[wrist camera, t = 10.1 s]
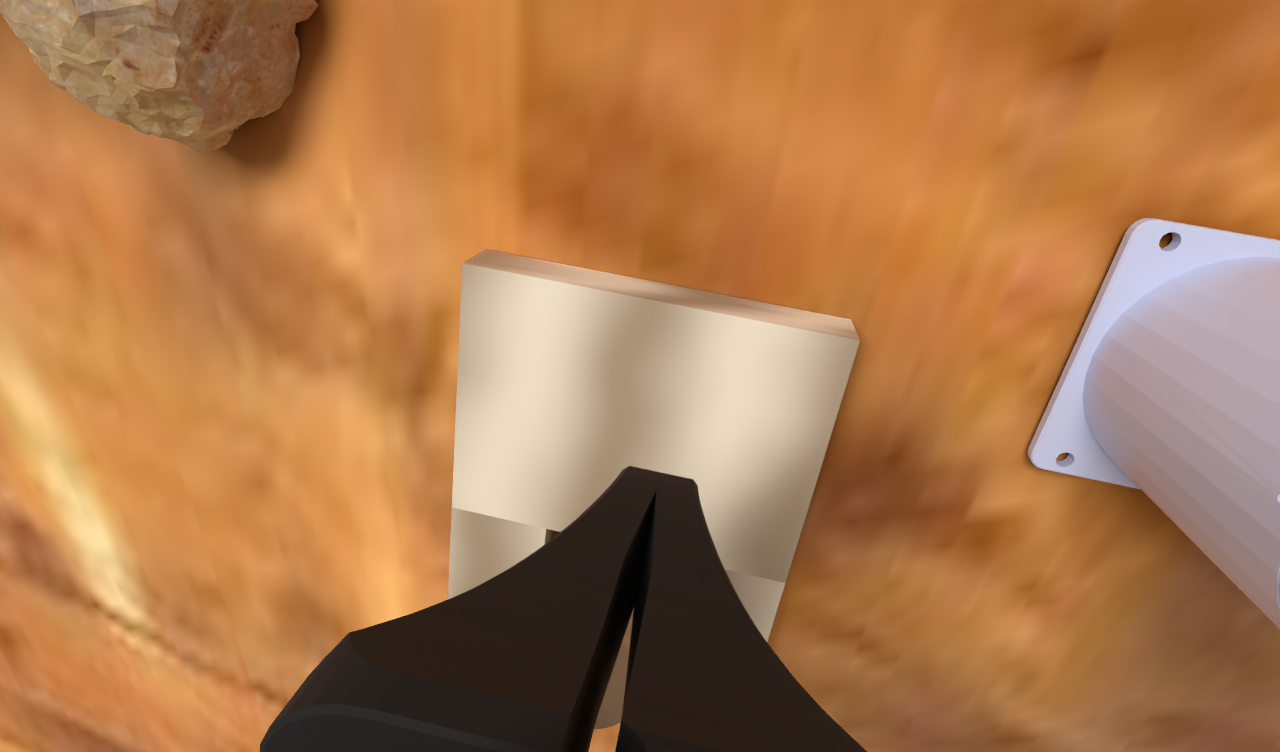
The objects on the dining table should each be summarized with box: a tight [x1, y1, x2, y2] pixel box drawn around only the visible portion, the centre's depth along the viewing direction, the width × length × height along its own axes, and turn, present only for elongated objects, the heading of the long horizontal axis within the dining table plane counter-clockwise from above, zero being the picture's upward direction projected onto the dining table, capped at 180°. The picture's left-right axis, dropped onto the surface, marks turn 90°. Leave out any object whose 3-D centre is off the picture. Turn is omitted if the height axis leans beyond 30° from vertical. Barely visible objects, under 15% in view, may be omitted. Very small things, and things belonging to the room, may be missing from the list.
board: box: [448, 249, 860, 642], centre depth 24 cm, size 12×16×2 cm
